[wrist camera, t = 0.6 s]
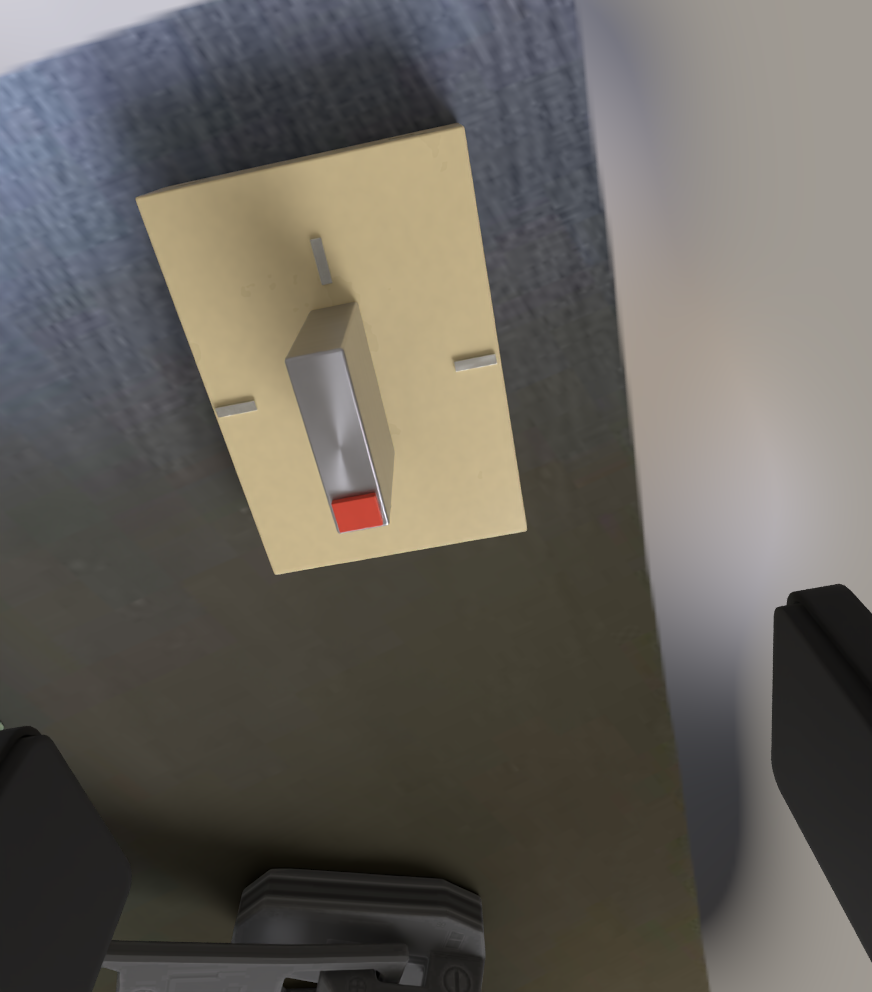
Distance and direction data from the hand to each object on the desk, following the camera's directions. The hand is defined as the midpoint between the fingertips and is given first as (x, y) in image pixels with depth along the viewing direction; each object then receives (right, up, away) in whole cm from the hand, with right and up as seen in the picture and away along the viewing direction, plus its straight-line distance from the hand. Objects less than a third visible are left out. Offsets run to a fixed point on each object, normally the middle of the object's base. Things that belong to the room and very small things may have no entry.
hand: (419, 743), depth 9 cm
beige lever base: (-3, +8, +18) cm, 20 cm away
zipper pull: (-9, -21, +34) cm, 41 cm away
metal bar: (-3, +7, +15) cm, 17 cm away
